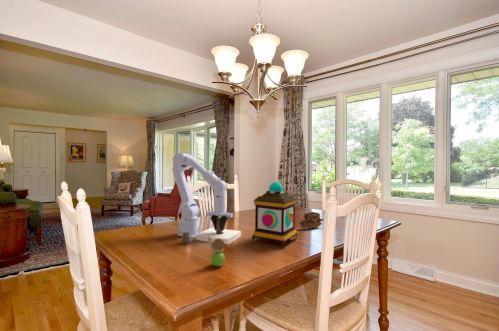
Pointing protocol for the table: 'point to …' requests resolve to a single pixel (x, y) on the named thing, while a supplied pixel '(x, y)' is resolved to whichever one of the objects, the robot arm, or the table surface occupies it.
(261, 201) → the decorative lantern
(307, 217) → the wooden carving
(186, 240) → the short dowel
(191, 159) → the robot arm
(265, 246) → the table surface
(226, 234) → the hole board
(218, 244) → the snail figurine
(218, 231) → the tall dowel
